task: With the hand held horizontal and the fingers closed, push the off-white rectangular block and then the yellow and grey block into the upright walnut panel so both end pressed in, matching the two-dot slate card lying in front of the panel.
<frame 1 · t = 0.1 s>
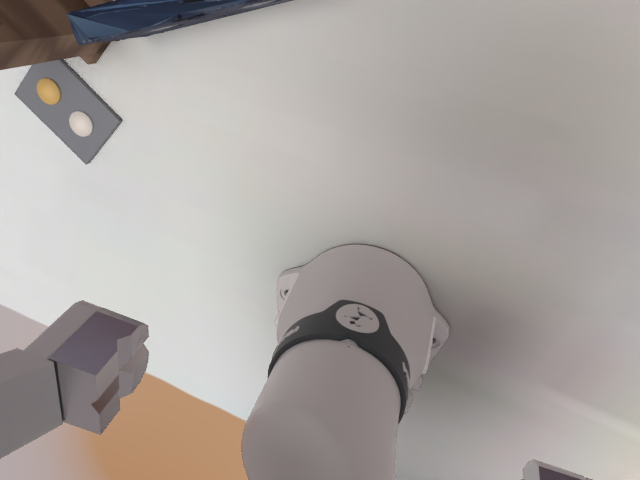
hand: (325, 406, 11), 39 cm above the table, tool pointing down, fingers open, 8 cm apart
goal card: (69, 106, 54), on the table
vhs cassette tape: (229, 0, 46), on the table
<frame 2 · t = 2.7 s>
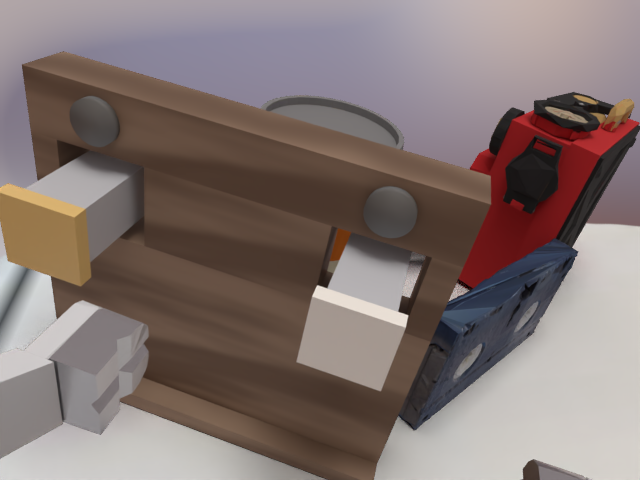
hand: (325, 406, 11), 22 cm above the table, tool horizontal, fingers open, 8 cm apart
reusable coffee cup: (301, 268, 51), on the table
yellow and grey block: (89, 204, 27), point 15 cm above the table, slide at 0.0 cm
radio: (497, 270, 57), on the table
off-white rectangular block: (364, 294, 25), point 15 cm above the table, slide at 0.0 cm
vhs cassette tape: (467, 369, 44), on the table
panel: (220, 397, 37), on the table
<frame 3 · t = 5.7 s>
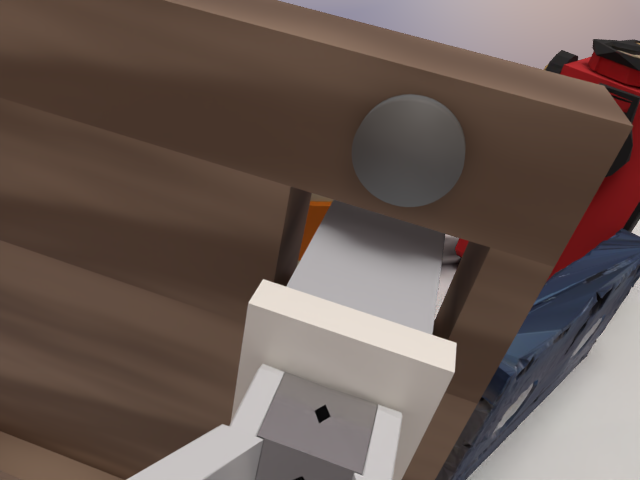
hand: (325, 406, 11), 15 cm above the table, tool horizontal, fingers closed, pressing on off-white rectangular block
reusable coffee cup: (277, 270, 39), on the table
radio: (530, 272, 45), on the table
off-white rectangular block: (362, 298, 14), point 15 cm above the table, slide at 0.9 cm, touching gripper
vhs cassette tape: (503, 410, 32), on the table
panel: (142, 465, 24), on the table
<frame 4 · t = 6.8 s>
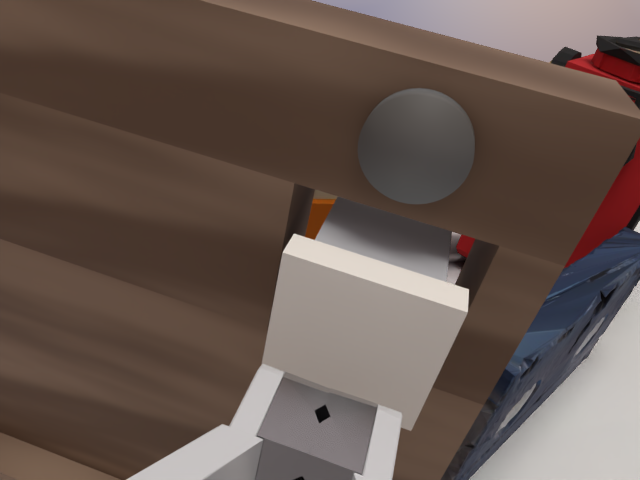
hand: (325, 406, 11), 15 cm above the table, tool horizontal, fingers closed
reusable coffee cup: (277, 269, 38), on the table
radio: (531, 271, 45), on the table
off-white rectangular block: (378, 260, 15), point 15 cm above the table, slide at 2.7 cm
vhs cassette tape: (505, 409, 32), on the table
panel: (141, 465, 24), on the table
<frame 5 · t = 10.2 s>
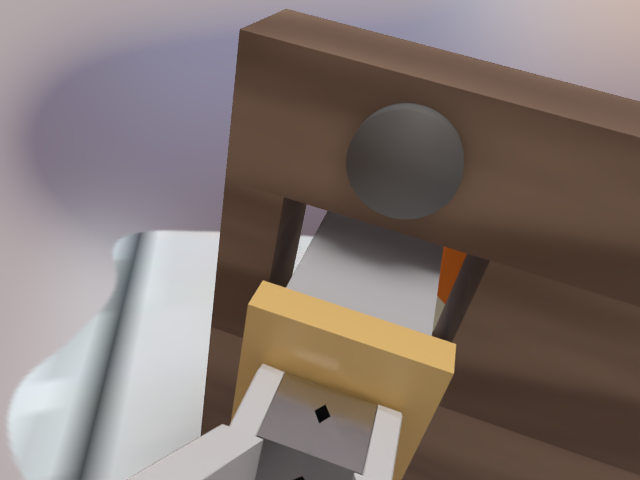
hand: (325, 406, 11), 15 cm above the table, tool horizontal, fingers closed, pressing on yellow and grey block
reusable coffee cup: (476, 341, 36), on the table
yellow and grey block: (362, 299, 14), point 15 cm above the table, slide at 1.5 cm, touching gripper
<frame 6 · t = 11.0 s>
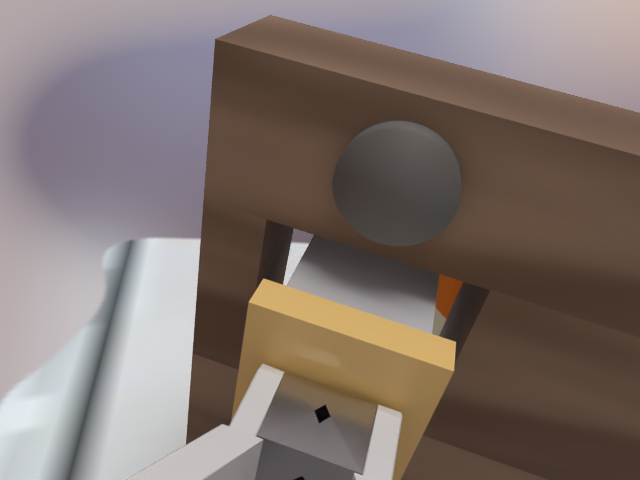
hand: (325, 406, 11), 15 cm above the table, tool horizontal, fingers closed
reusable coffee cup: (475, 352, 35), on the table
yellow and grey block: (362, 297, 14), point 15 cm above the table, slide at 2.7 cm
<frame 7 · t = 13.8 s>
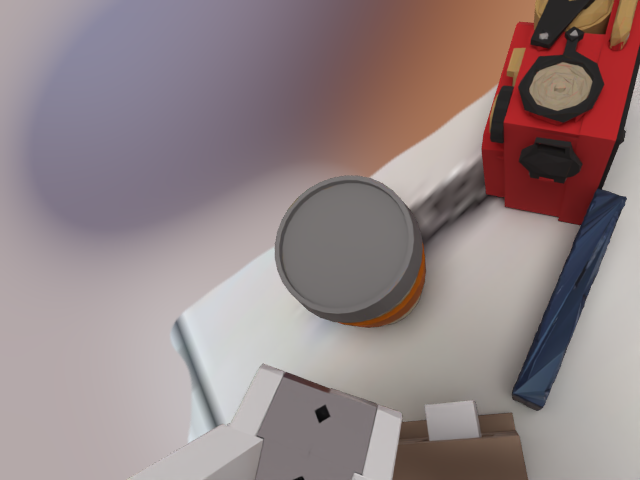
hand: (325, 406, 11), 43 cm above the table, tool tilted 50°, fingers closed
reusable coffee cup: (381, 284, 56), on the table
yellow and grey block: (257, 473, 39), point 15 cm above the table, slide at 2.7 cm
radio: (551, 158, 55), on the table
off-white rectangular block: (459, 460, 35), point 15 cm above the table, slide at 2.7 cm
vhs cassette tape: (560, 316, 50), on the table
panel: (394, 455, 50), on the table
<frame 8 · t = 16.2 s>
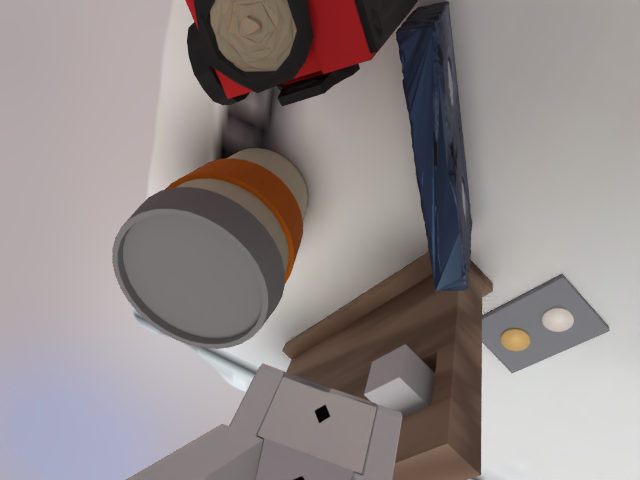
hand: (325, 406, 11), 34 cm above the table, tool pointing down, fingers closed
reusable coffee cup: (263, 191, 49), on the table
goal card: (535, 325, 49), on the table
off-white rectangular block: (419, 402, 37), point 15 cm above the table, slide at 2.7 cm
vhs cassette tape: (446, 125, 42), on the table
panel: (378, 316, 53), on the table
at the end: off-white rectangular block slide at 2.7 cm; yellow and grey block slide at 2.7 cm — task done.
